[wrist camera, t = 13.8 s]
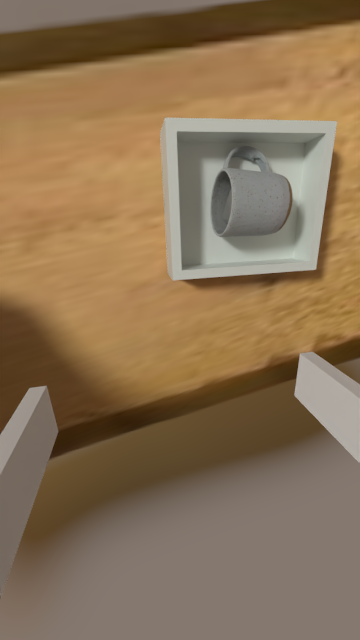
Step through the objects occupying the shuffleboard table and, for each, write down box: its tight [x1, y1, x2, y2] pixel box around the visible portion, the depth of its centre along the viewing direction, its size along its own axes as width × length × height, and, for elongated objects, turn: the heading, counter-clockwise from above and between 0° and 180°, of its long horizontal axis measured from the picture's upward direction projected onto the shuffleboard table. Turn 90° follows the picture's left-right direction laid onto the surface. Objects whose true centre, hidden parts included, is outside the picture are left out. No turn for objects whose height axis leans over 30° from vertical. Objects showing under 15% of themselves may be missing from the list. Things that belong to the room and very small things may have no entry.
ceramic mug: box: [210, 146, 292, 237], centre depth 32 cm, size 11×8×8 cm
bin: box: [160, 118, 337, 280], centre depth 34 cm, size 20×17×5 cm
